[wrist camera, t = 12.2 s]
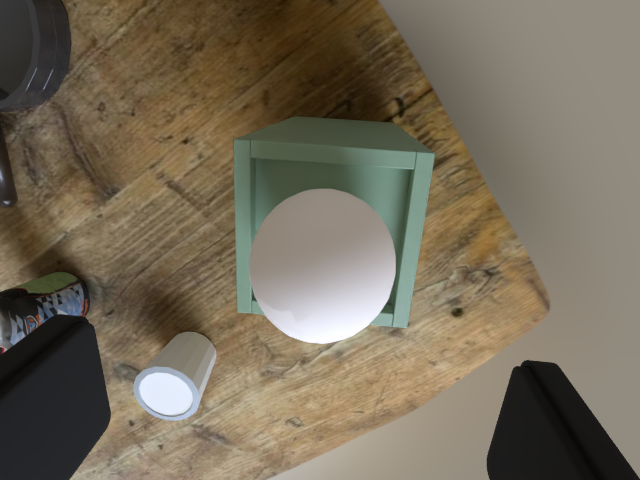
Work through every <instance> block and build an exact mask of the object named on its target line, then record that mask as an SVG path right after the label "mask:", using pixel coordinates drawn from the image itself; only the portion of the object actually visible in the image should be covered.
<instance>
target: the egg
mask: <svg viewBox="0 0 640 480" xmlns="http://www.w3.org/2000/svg"><path fill="white" fill-rule="evenodd" d="M395 275H396V256H395V250H394V244H393V240H392V237H391V235H390V233H389V230H388V228H387V226H386V224H385V223H384V221H383V220H382V218H381V217H380V216H379V214H378V213H377V212H376V211H375V210H374V209H372V208H371V207H370V206H369V205H368V204H367V203H366V202H365V201H363V200H361V199H359V198H357V197H355V196H353V195H351V194H349V193H347V192H343V191H339V190H335V189H311V190H307V191H303V192H300V193H298V194H296V195H294V196H292V197H289V198H287V199H285V200H284V201H283V202H281V203H280V204H279V205H277V206H276V207H275V208H274V209H273V210H272V211H271V212H270V213H269V214H268V215H267V217H266V218H265V219H264V221H263V222H262V224H261V226H260V227H259V229H258V231H257V233H256V236H255V238H254V240H253V243H252V246H251V252H250V259H249V278H250V282H251V285H252V289H253V292H254V296H255V298H256V300H257V302H258V304H259V306H260V308H261V309H262V311H263V312H264V314H265V316H266V317H267V318H268V319H269V320H270V321H271V322H272V323H273V324H274V325H275V326H276V327H277V328H278V329H280V330H281V331H283V332H284V333H285V334H287V335H288V336H290V337H293V338H296V339H299V340H301V341H304V342H309V343H320V344H324V343H330V342H335V341H339V340H343V339H345V338H348V337H351V336H353V335H355V334H356V333H358V332H359V331H361V330H362V329H364V328H365V327H366V326H367V325H369V324H370V323H371V322H372V321H373V320H374V319H375V318H376V317H377V315H378V314H379V313H380V312H381V310H382V309H383V307H384V306H385V304H386V303H387V301H388V299H389V296H390V293H391V289H392V286H393V283H394V279H395Z"/></svg>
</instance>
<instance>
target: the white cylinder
mask: <svg viewBox="0 0 640 480" xmlns="http://www.w3.org/2000/svg"><path fill="white" fill-rule="evenodd" d="M215 360H216V349H215V347H214V346H213V344H212V342H211V341H210V340H209V339H207V338H206V337H205V336H204V335H201V334H199V333H196V332H183V333H180V334H177V335H176V336H175V337H174V338H173V339H172V340H171V341H170V342H169V343H168V344H167V345H166V346H165V347H164V348H163V349H162V351H161V352H160V353H159V354H158V355H157V356H156V357H155V358H154V359H153V360H152V361H151V362H150V363H149V364H148V365H147V366H146V367H145V368H144V369H143V370H142V372H141V373H140V374H139V375H138V376H137V377H136V379H135V382H134V386H133V389H134V394H135V398H136V399H137V401H138V402H139V404H140V405H141V407H142V408H144V409H145V410H146V411H147V412H149V413H150V414H151V415H153V416H156V417H158V418H161V419H163V420H173V421H178V420H182V419H186V418H189V417H190V416H191V415H192V414H193V413H195V412H196V410H197V408H198V405H199V403H200V400H201V398H202V395H203V392H204V390H205V387H206V384H207V382H208V379H209V376H210V373H211V371H212V368H213V365H214V363H215Z"/></svg>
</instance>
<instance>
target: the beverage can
mask: <svg viewBox="0 0 640 480" xmlns="http://www.w3.org/2000/svg"><path fill="white" fill-rule="evenodd" d="M89 307H90V299H89V295H88V292H87V290H86V288H85V286H84V285H83V283H82V282H81V281H80V280H79V279H78V278H76V277H75V276H73V275H71V274H69V273H65V272H54V273H51V274H49V275H46V276H43V277H40V278H38V279H35V280H32V281H29V282H27V283H24V284H21V285H18V286H15V287H13V288H10V289H7V290H4V291H2V292H0V355H1V354H3V353H4V352H5V351H7V350H8V349H9V348H11V347H12V346H13V345H15V344H16V343H17V342H19V341H20V340H21V339H23V338H24V337H25V336H26V335H28V334H29V333H30V332H32V331H33V330H34V329H36V328H37V327H38V326H40V325H41V324H42V323H44V322H45V321H46V320H48V319H49V318H50V317H52V316H54V315H56V314H65V315H76V316H83V317H85V316H86V315H87V313H88V311H89Z"/></svg>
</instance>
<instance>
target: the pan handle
mask: <svg viewBox="0 0 640 480" xmlns="http://www.w3.org/2000/svg"><path fill="white" fill-rule="evenodd" d="M17 201H18V196H17V192H16V187H15V183H14V178H13V174H12V169H11V165H10V161H9V156H8V152H7V147H6V143H5V138H4V134H3V130H2V125H1V121H0V206H1V207H4V208H9V207H13V206H14V205H16V203H17Z"/></svg>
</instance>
